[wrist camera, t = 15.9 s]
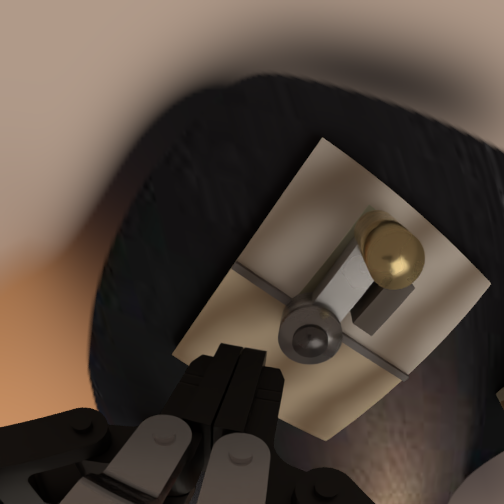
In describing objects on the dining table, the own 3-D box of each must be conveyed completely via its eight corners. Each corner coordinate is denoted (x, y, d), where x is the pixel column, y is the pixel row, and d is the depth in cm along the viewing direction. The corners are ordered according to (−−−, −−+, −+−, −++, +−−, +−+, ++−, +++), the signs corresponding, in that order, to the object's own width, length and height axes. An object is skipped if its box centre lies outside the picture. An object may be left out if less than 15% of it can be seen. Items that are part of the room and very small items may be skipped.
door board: (484, 278, 22) (507, 299, 18) (326, 433, 30) (325, 463, 26) (321, 138, 21) (324, 135, 17) (176, 347, 29) (159, 374, 25)
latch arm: (316, 353, 24) (316, 401, 19) (270, 326, 24) (259, 371, 19) (413, 232, 20) (443, 259, 15) (364, 195, 20) (383, 212, 15)
